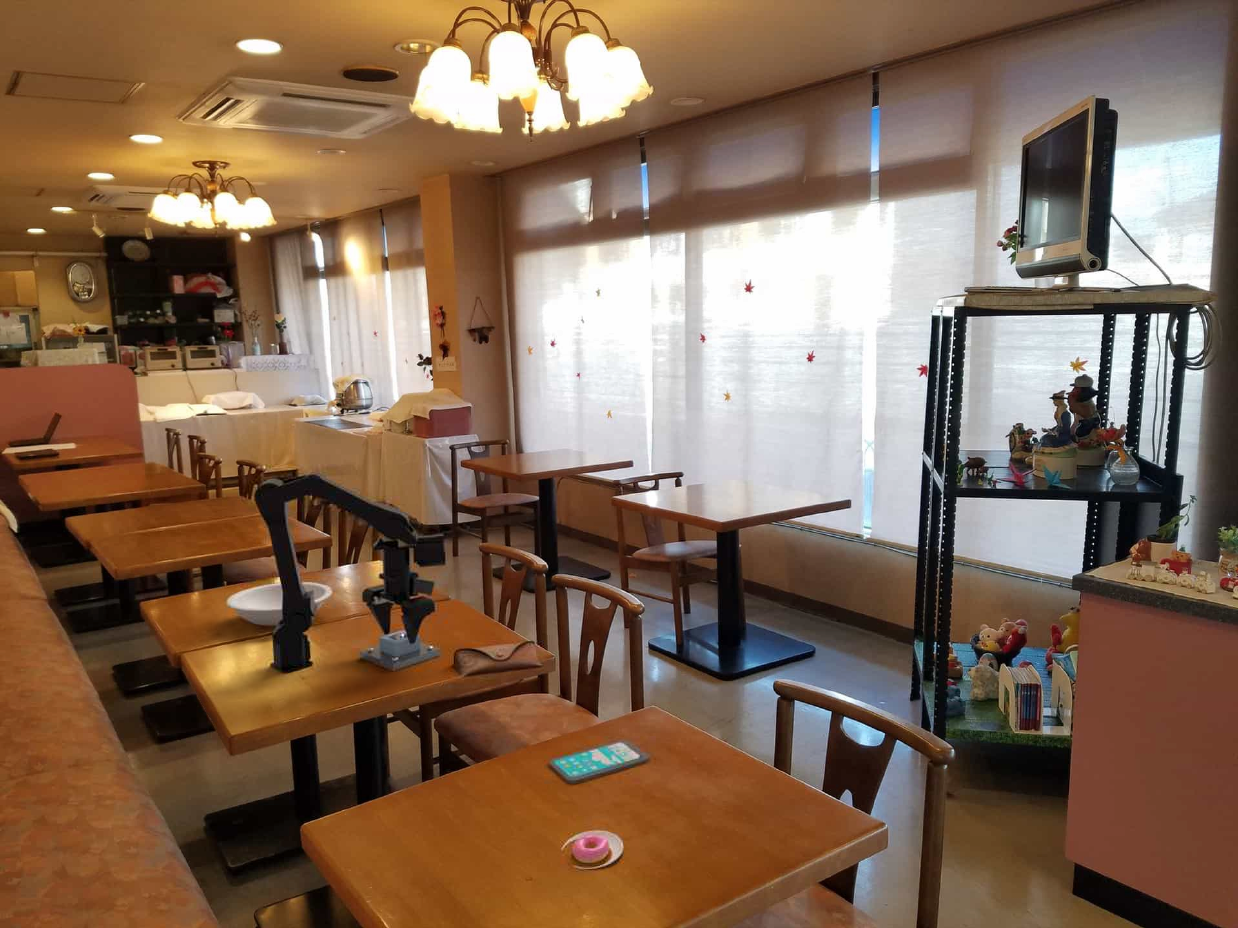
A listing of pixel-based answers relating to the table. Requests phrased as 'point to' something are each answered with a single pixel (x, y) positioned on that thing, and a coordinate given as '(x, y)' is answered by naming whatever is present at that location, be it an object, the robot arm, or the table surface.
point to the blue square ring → (398, 644)
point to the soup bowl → (270, 602)
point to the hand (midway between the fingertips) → (399, 638)
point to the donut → (596, 847)
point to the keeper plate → (400, 661)
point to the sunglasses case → (496, 658)
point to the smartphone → (598, 761)
